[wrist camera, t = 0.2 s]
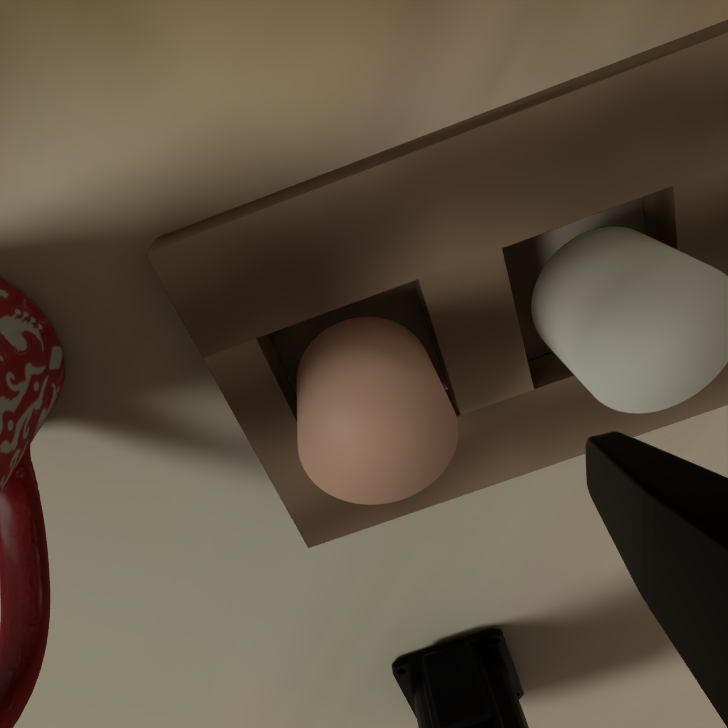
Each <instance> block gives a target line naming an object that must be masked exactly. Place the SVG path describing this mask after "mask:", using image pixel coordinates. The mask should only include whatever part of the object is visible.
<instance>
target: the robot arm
mask: <svg viewBox="0 0 728 728" xmlns="http://www.w3.org/2000/svg"><path fill="white" fill-rule="evenodd" d="M585 449H586V476H587V486H588V490H589V493H590V496H591V498H592V500H593V502H594V504H595V506H596V508H597V510H598V512H599V514H600V516H601V518H602V520H603V522H604V524H605V526H606V528H607V530H608V532H609V534H610V536H611V538H612V540H613V542H614V544H615V545H616V547H617V549H618V551H619V553H620V555H621V557H622V559H623V561H624V563H625V565H626V567H627V569H628V571H629V573H630V575H631V577H632V579H633V581H634V583H635V584H636V586H637V588H638V590H639V592H640V594H641V595H642V597H643V599H644V600H645V602H646V603H647V605H648V607H649V608H650V610H651V611H652V613H653V614H654V616H655V617H656V619H657V621H658V622H659V624H660V625H661V627H662V628H663V630H664V631H665V633H666V634H667V636H668V637H669V639H670V640H671V642H672V643H673V645H674V647H675V648H676V650H677V651H678V653H679V654H680V656H681V657H682V659H683V660H684V662H685V663H686V665H687V666H688V668H689V669H690V671H691V673H692V674H693V676H694V677H695V679H696V680H697V682H698V683H699V685H700V686H701V688H702V689H703V691H704V692H705V694H706V695H707V697H708V699H709V700H710V702H711V703H712V705H713V706H714V708H715V709H716V711H717V712H718V714H719V715H720V717H721V718H722V720H723V721H724V723H725V725H726V726H727V728H728V478H727V477H724V476H722V475H719V474H717V473H715V472H712V471H710V470H708V469H705V468H703V467H701V466H698V465H696V464H694V463H691V462H689V461H687V460H684V459H682V458H680V457H677V456H675V455H672V454H670V453H668V452H665V451H663V450H661V449H658V448H656V447H654V446H651V445H649V444H647V443H644V442H642V441H640V440H637V439H635V438H633V437H630V436H628V435H625V434H623V433H621V432H617V431H610V432H606V433H602V434H598V435H594V436H591V437H589V438H588V439H587V441H586V446H585ZM392 670H393V675H394V677H395V679H396V681H397V682H398V684H399V686H400V688H401V690H402V692H403V694H404V696H405V697H406V699H407V701H408V703H409V705H410V707H411V709H412V711H413V712H414V714H415V716H416V718H417V722H418V727H419V728H529V727H528V724H527V721H526V718H525V716H524V713H523V710H522V707H521V705H520V702H519V699H520V698H521V697H522V696H523V690H522V687H521V684H520V681H519V679H518V676H517V673H516V670H515V667H514V664H513V661H512V659H511V656H510V653H509V650H508V647H507V644H506V641H505V639H504V636H503V633H502V631H501V630H500V629H491V630H488V631H485V632H482V633H479V634H475V635H472V636H469V637H466V638H463V639H460V640H457V641H454V642H451V643H448V644H445V645H442V646H439V647H436V648H433V649H430V650H426V651H423V652H420V653H417V654H414V655H411V656H408V657H405V658H402V659H399V660H397V661H395V662H394V663H393V664H392Z"/></svg>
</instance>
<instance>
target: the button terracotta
mask: <svg viewBox="0 0 728 728" xmlns="http://www.w3.org/2000/svg"><path fill="white" fill-rule="evenodd" d="M458 433H459V431H458V421H457V417H456V414H455V411H454V409H453V406H452V404H451V402H450V400H449V398H448V396H447V394H446V392H445V390H444V387H443V385H442V383H441V381H440V379H439V377H438V375H437V373H436V371H435V368H434V366H433V364H432V362H431V360H430V358H429V356H428V354H427V352H426V350H425V348H424V346H423V344H422V343H421V341H420V340H419V339H418V338H417V337H416V336H415V335H414V334H413V333H412V332H411V331H410V330H408V329H407V328H405V327H404V326H402V325H400V324H398V323H396V322H394V321H391V320H388V319H383V318H378V317H358V318H352V319H348V320H345V321H341V322H339V323H337V324H334V325H332V326H331V327H329V328H327V329H325V330H324V331H323V332H321V333H320V334H319V335H318V336H317V337H316V338H315V339H314V340H313V341H312V342H311V343H310V344H309V346H308V347H307V348H306V350H305V352H304V353H303V355H302V357H301V360H300V362H299V366H298V370H297V436H298V453H299V457H300V461H301V464H302V466H303V468H304V470H305V472H306V473H307V475H308V476H309V478H310V479H311V480H312V481H313V482H314V483H315V484H316V485H317V486H318V487H319V488H320V489H322V490H323V491H325V492H326V493H328V494H330V495H331V496H333V497H335V498H338V499H341V500H343V501H347V502H351V503H356V504H365V505H376V504H386V503H391V502H395V501H399V500H402V499H405V498H407V497H410V496H412V495H414V494H416V493H418V492H420V491H422V490H423V489H425V488H426V487H428V486H429V485H430V484H431V483H433V482H434V481H435V480H436V479H437V478H438V477H439V476H440V475H441V474H442V473H443V471H444V470H445V469H446V467H447V466H448V465H449V463H450V461H451V459H452V457H453V455H454V452H455V450H456V446H457V442H458Z"/></svg>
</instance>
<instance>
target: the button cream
mask: <svg viewBox="0 0 728 728" xmlns="http://www.w3.org/2000/svg"><path fill="white" fill-rule="evenodd" d="M531 314H532V320H533V324H534V327H535V329H536V331H537V333H538V335H539V336H540V338H541V339H542V340H543V341H544V342H545V343H546V345H547V346H548V347H549V348H550V349H551V350H552V351H553V352H554V353H555V354H556V355H557V356H558V358H559V359H560V360H561V361H562V362H563V363H564V364H565V365H566V366H567V367H568V368H569V370H570V371H571V372H572V373H573V374H574V375H575V376H576V377H577V378H578V379H579V380H580V382H581V383H582V384H583V385H584V386H585V387H586V388H587V389H588V390H589V391H590V392H591V394H592V395H593V396H594V397H595V398H596V399H597V400H598V401H600V402H601V403H602V404H604V405H606V406H608V407H610V408H611V409H614V410H617V411H620V412H626V413H638V414H639V413H650V412H656V411H660V410H663V409H667V408H670V407H672V406H675V405H677V404H679V403H681V402H683V401H685V400H687V399H689V398H690V397H692V396H693V395H695V394H697V393H698V392H699V391H701V390H702V389H703V388H704V387H706V386H707V385H708V384H709V383H710V382H711V381H712V380H713V379H714V378H715V377H716V376H717V375H718V374H719V373H720V372H721V370H722V369H723V368H724V366H725V365H726V364H727V362H728V276H727V275H726V274H724V273H723V272H721V271H720V270H718V269H716V268H714V267H712V266H710V265H708V264H706V263H704V262H701V261H699V260H697V259H695V258H693V257H691V256H689V255H687V254H685V253H682V252H680V251H678V250H676V249H674V248H672V247H670V246H668V245H666V244H664V243H661V242H659V241H657V240H655V239H653V238H651V237H649V236H647V235H645V234H642V233H640V232H638V231H636V230H634V229H630V228H626V227H617V226H614V227H603V228H597V229H594V230H591V231H588V232H586V233H583V234H581V235H579V236H577V237H575V238H574V239H572V240H570V241H569V242H568V243H566V244H565V245H564V246H562V247H561V248H560V249H559V250H558V251H557V252H556V253H555V254H554V255H553V256H552V257H551V258H550V259H549V261H548V262H547V263H546V265H545V266H544V268H543V269H542V271H541V273H540V275H539V276H538V279H537V281H536V284H535V286H534V290H533V294H532V300H531Z"/></svg>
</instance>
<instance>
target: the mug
mask: <svg viewBox="0 0 728 728" xmlns="http://www.w3.org/2000/svg"><path fill="white" fill-rule="evenodd" d="M63 382H64V359H63V353H62V350H61V347H60V344H59V341H58V338H57V336H56V334H55V332H54V330H53V328H52V326H51V325H50V323H49V321H48V320H47V318H46V317H45V316H44V314H43V313H42V312H41V310H40V309H39V308H38V307H37V306H36V305H35V304H34V303H33V302H32V301H31V300H30V299H29V298H27V297H26V296H25V295H24V294H23V293H22V292H20V291H19V290H18V289H16V288H15V287H13V286H12V285H11V284H9V283H8V282H6V281H4V280H2V279H1V278H0V594H1V624H0V728H13V727H14V725H15V724H16V722H17V721H18V719H19V717H20V716H21V714H22V712H23V710H24V708H25V706H26V704H27V702H28V700H29V698H30V696H31V694H32V692H33V689H34V687H35V684H36V681H37V679H38V676H39V673H40V669H41V666H42V662H43V658H44V654H45V649H46V644H47V637H48V629H49V619H50V577H49V561H48V550H47V541H46V532H45V525H44V518H43V512H42V506H41V501H40V494H39V490H38V484H37V481H36V476H35V471H34V469H33V465H32V461H31V456H30V443H31V442H32V440H33V439H34V437H35V435H36V434H37V432H38V431H39V429H40V428H41V426H42V424H43V423H44V421H45V420H46V419H47V417H48V416H49V414H50V412H51V410H52V409H53V407H54V405H55V403H56V401H57V399H58V397H59V395H60V392H61V390H62V386H63Z"/></svg>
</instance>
